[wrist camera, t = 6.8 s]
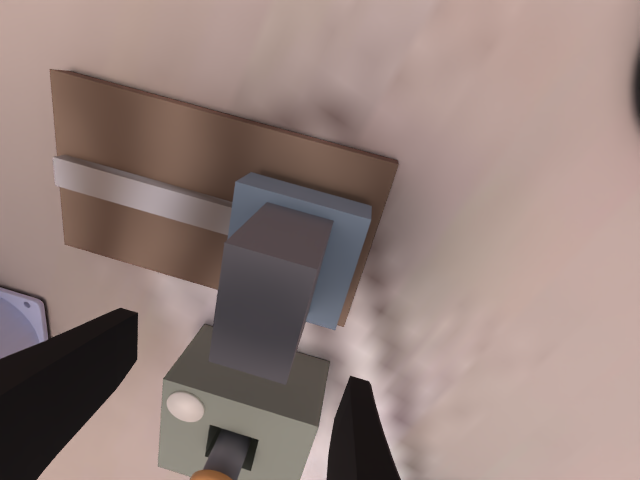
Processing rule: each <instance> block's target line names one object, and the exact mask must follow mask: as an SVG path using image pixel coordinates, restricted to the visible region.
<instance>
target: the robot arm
mask: <svg viewBox="0 0 640 480" xmlns="http://www.w3.org/2000/svg"><path fill="white" fill-rule="evenodd" d="M137 340H138V313H136V312H133V311H130V310H126V309H123V308H119V309H116V310H114V311H112V312H109V313H107V314H105V315H102V316H100V317H98V318H96V319H93V320H91V321H89V322H87V323H84V324H82V325H80V326H78V327H76V328H73V329H71V330H69V331H66V332H64V333H62V334H60V335H57V336H55V337H53V338H50V339H48V332H47V324H46V316H45V308H44V304H43V302H42V301H41V300H39V299H37V298H34V297H30V296H27V295H24V294H20V293H17V292H14V291H11V290H7V289H4V288H1V287H0V480H37V479H38V477H39V476H40V475H41V473H42V472H43V471H44V470H45V468H46V467H47V466H48V465H49V464H50V463H51V461H52V460H53V459H54V458H55V457H56V455H57V454H58V453H59V452H60V451H61V450H62V449H63V448H64V446H65V445H66V444H67V443H68V442H69V441H70V440H71V439H72V438H73V437H74V435H75V434H76V433H77V432H78V431H79V430H80V429H81V428H82V427H83V425H84V424H85V423H86V422H87V421H88V420H89V419H90V418H91V417H92V416H93V414H94V413H95V412H96V411H97V410H98V409H99V408H100V407H101V405H102V404H103V403H104V402H105V401H106V400H107V399H108V398H109V397H110V395H111V394H112V393H113V392H114V391H115V390H116V389H117V387H118V386H119V385H120V383H121V382H122V380H123V379H124V378H125V376H126V375H127V374H128V372H129V371H130V369H131V368H132V366H133V365H134V363H135V362H136V361H137ZM327 480H401V479H400V476H399V474H398V471H397V469H396V466H395V463H394V461H393V458H392V455H391V452H390V449H389V446H388V443H387V440H386V437H385V435H384V431H383V428H382V425H381V422H380V418H379V415H378V411H377V408H376V404H375V400H374V396H373V392H372V387H371V384H370V382H369V381H366V380H363V379H359V378H356V377H352V376H350V378H349V381H348V383H347V386H346V389H345V391H344V394H343V397H342V400H341V402H340V405H339V408H338V410H337V413H336V416H335V418H334V424H333V430H332V435H331V441H330V448H329V455H328V468H327Z"/></svg>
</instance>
